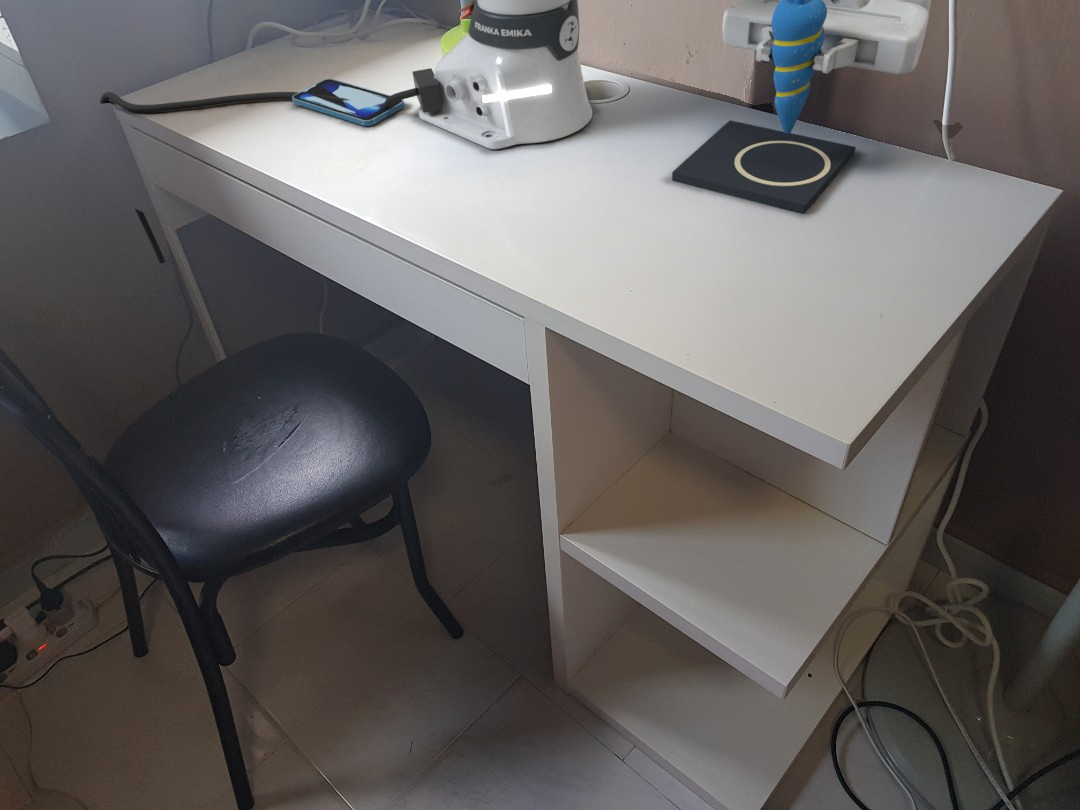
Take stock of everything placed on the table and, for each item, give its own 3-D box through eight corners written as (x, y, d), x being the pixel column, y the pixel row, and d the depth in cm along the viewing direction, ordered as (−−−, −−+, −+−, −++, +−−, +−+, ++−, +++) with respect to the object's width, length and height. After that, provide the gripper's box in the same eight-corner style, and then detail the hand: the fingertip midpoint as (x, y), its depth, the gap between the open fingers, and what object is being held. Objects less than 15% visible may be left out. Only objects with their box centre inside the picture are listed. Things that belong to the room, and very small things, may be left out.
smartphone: (367, 122, 106) (288, 97, 113) (369, 129, 107) (290, 104, 113) (407, 100, 110) (328, 77, 117) (408, 107, 111) (329, 84, 117)
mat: (671, 180, 91) (672, 170, 91) (729, 128, 99) (729, 118, 98) (804, 214, 84) (805, 203, 84) (854, 155, 92) (856, 145, 92)
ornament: (815, 143, 86) (840, -13, 76) (765, 146, 86) (782, -8, 76) (804, 120, 90) (825, -31, 80) (755, 124, 90) (770, -26, 80)
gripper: (755, -30, 92) (697, 11, 85) (948, -7, 83) (903, 42, 75) (750, 29, 97) (694, 73, 89) (933, 58, 87) (888, 110, 80)
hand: (791, 59), depth 82 cm, fingers closed on ornament, 4 cm apart
